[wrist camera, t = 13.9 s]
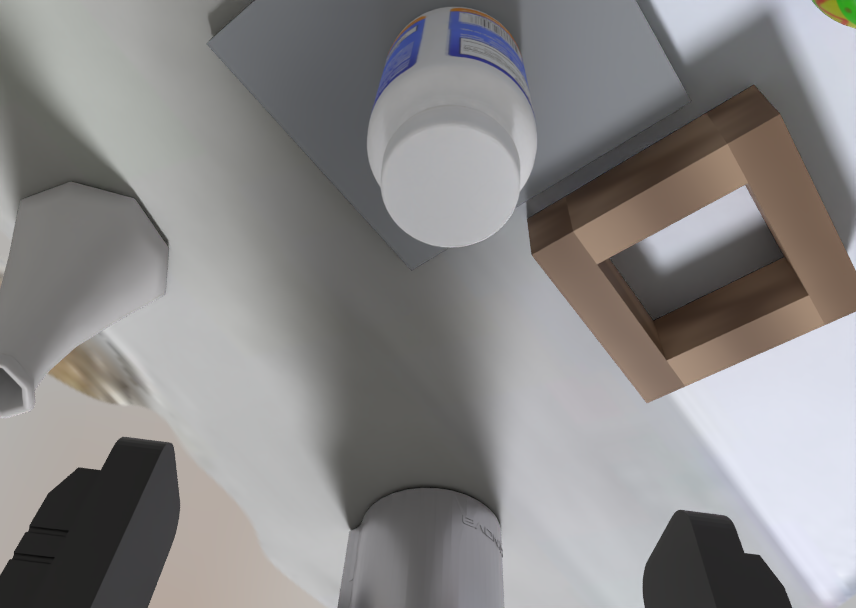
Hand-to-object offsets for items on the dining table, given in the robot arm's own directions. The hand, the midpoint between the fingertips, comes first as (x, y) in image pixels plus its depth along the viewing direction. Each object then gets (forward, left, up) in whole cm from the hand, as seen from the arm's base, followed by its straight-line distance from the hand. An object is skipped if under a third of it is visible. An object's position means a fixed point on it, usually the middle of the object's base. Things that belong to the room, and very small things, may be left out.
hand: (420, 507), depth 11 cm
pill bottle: (0, 0, -21) cm, 21 cm away
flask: (-19, +3, -22) cm, 29 cm away
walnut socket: (+4, -13, -21) cm, 25 cm away
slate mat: (0, 0, -21) cm, 21 cm away
